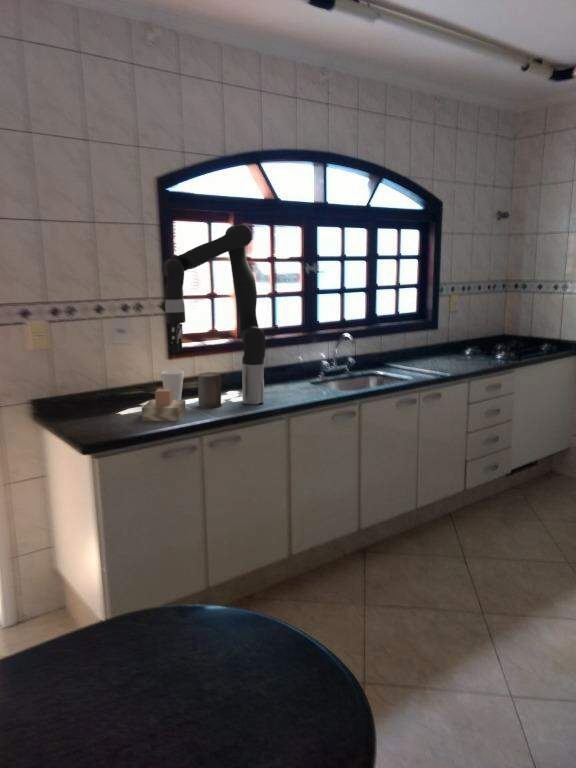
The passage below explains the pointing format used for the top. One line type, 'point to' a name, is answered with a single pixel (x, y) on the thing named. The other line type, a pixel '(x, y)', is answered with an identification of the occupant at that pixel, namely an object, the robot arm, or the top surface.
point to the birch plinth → (163, 411)
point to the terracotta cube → (163, 397)
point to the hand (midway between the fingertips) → (177, 351)
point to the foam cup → (173, 382)
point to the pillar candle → (209, 389)
